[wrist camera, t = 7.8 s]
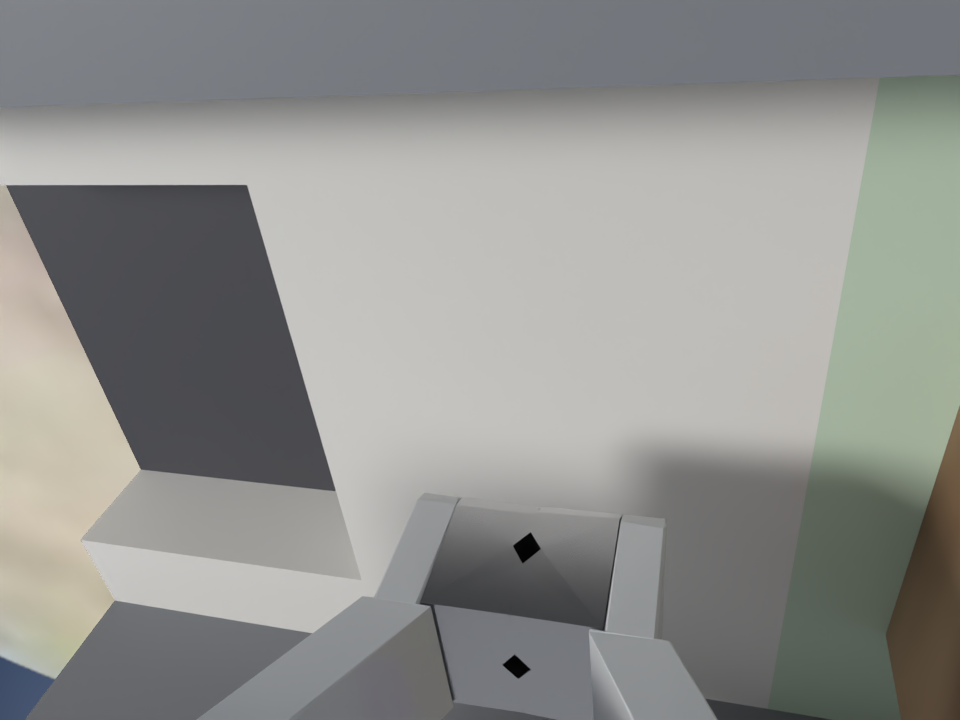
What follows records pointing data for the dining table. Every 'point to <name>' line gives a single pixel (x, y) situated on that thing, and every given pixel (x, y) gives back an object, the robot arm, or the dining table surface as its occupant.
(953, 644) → the walnut block
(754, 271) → the box
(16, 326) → the dining table surface
